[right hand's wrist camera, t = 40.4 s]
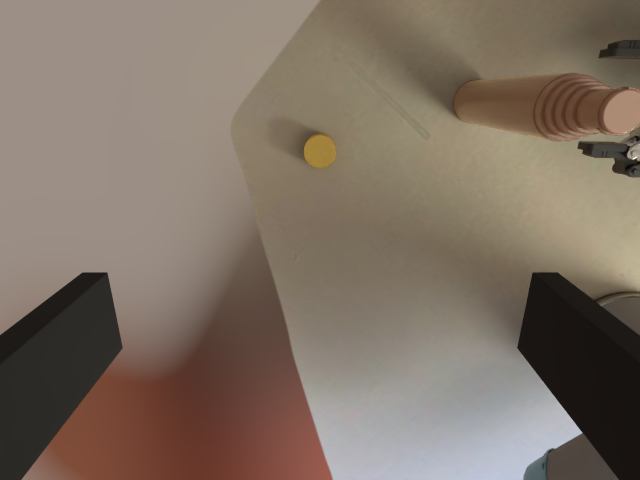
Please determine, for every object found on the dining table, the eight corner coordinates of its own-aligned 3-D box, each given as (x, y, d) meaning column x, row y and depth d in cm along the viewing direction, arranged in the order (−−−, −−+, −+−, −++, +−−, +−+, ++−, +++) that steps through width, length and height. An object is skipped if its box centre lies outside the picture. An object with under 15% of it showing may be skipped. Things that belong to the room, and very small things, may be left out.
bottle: (488, 125, 46) (648, 156, 24) (449, 120, 46) (572, 148, 24) (498, 82, 45) (680, 73, 22) (458, 77, 45) (599, 63, 22)
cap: (303, 134, 47) (302, 136, 45) (334, 132, 47) (335, 134, 45) (305, 165, 48) (304, 168, 46) (336, 164, 48) (336, 167, 46)
